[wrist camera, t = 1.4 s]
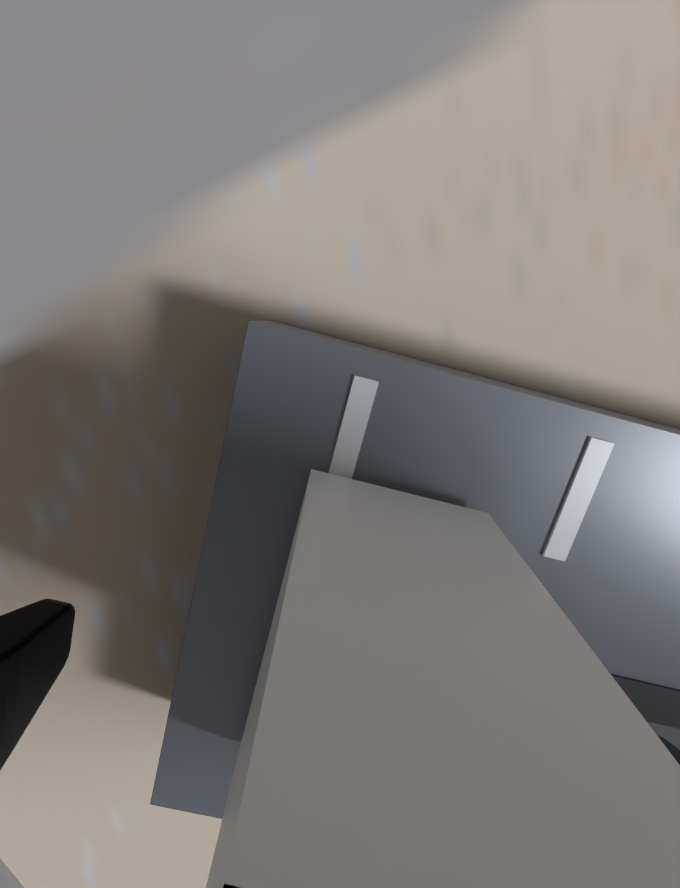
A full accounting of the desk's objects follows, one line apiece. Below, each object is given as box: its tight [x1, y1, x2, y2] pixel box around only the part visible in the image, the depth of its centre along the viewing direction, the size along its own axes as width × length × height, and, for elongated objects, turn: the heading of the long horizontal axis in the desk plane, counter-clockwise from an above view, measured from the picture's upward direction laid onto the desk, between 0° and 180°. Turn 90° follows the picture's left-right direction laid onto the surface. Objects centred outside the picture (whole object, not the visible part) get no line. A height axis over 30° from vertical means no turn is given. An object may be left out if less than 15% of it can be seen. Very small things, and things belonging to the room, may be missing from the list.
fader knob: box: [206, 469, 680, 888], centre depth 5 cm, size 3×6×6 cm, turn 165°
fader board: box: [150, 320, 680, 819], centre depth 10 cm, size 20×10×3 cm, turn 75°
